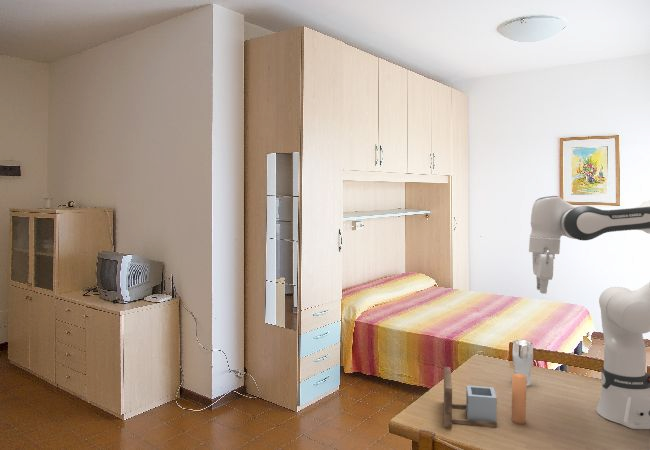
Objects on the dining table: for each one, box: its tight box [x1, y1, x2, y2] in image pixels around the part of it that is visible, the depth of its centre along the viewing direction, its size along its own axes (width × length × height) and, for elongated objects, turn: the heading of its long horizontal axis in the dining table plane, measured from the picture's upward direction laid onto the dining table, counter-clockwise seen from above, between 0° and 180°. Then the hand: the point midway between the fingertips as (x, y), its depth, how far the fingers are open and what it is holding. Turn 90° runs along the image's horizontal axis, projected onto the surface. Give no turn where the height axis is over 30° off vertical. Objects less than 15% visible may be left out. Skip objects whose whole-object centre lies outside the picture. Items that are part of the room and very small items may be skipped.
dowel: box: [511, 372, 527, 425], centre depth 152 cm, size 4×4×14 cm
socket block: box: [465, 384, 498, 422], centre depth 155 cm, size 8×8×8 cm
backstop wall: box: [443, 366, 498, 429], centre depth 155 cm, size 15×18×12 cm
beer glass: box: [511, 339, 534, 387], centre depth 181 cm, size 7×7×15 cm
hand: (541, 291), depth 157 cm, fingers open, 8 cm apart
